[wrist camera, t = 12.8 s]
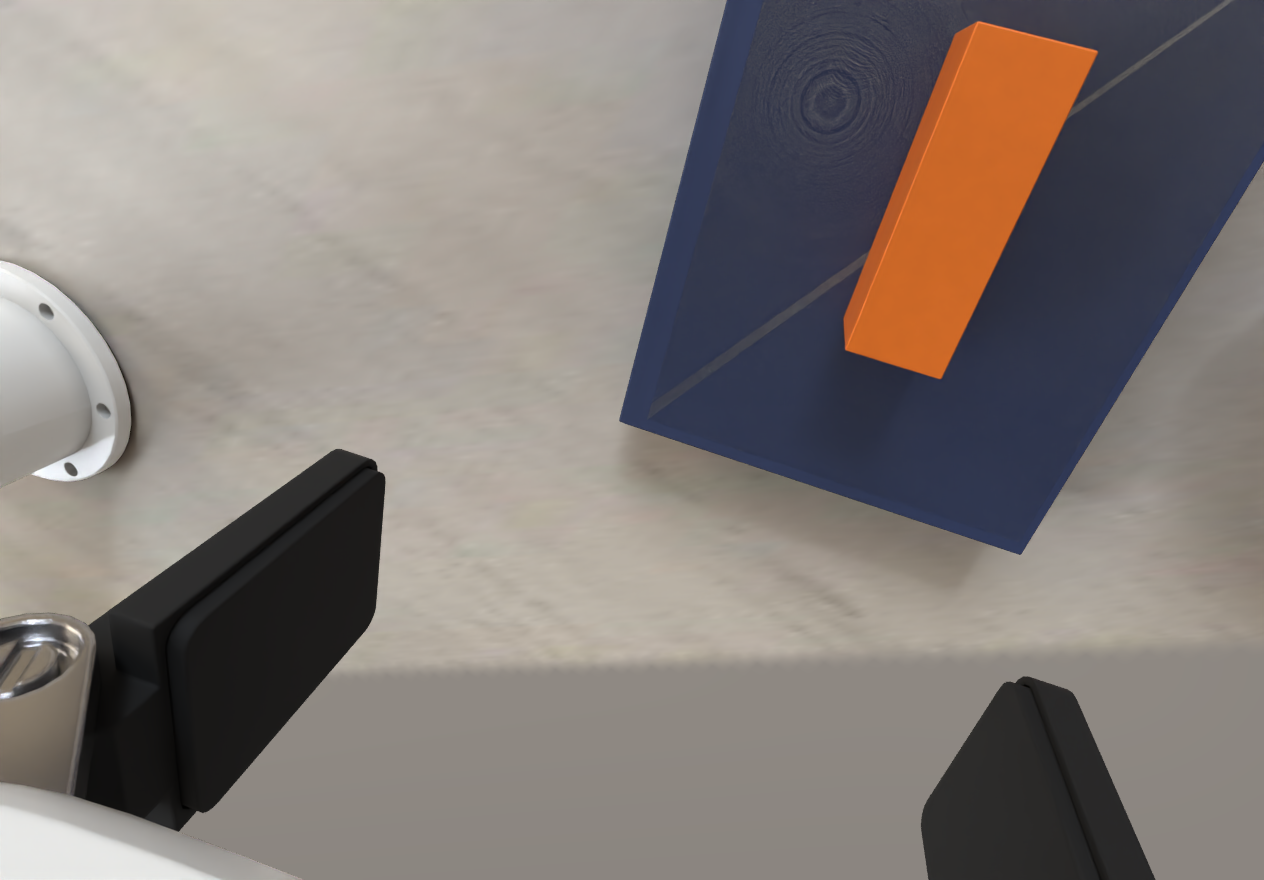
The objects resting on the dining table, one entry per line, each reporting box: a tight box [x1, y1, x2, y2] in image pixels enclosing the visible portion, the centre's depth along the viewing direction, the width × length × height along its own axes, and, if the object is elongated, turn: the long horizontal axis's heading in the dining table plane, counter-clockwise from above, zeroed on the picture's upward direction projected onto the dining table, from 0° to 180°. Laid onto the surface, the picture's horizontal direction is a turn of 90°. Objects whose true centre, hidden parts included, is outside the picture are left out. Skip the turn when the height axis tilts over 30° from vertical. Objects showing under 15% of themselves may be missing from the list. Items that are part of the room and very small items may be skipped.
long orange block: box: [843, 21, 1098, 379], centre depth 21 cm, size 3×9×4 cm, turn 167°
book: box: [619, 0, 1264, 555], centre depth 24 cm, size 16×22×3 cm
